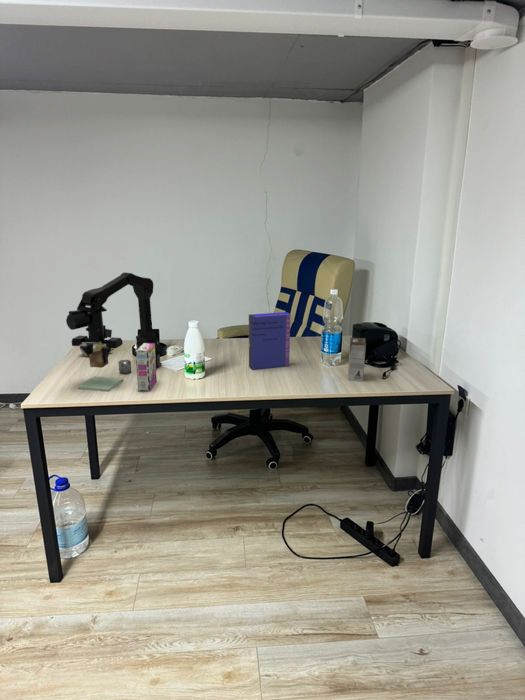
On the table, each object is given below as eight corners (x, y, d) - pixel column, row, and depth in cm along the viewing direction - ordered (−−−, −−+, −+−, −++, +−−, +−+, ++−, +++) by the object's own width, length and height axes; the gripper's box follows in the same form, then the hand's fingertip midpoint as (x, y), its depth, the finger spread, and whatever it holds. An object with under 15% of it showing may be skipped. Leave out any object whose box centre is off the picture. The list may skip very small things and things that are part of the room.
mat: (123, 380, 193) (123, 378, 192) (108, 391, 181) (108, 389, 181) (94, 378, 195) (94, 376, 195) (78, 388, 184) (77, 386, 183)
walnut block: (108, 363, 188) (107, 351, 186) (102, 367, 183) (100, 355, 182) (96, 362, 189) (95, 350, 187) (90, 366, 184) (88, 354, 182)
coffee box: (348, 372, 203) (350, 337, 198) (363, 373, 202) (365, 337, 197) (347, 380, 194) (350, 343, 189) (363, 381, 193) (366, 343, 188)
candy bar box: (150, 391, 181) (147, 351, 176) (137, 391, 181) (134, 350, 177) (157, 381, 192) (155, 342, 187) (145, 381, 192) (142, 342, 187)
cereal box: (285, 363, 215) (286, 311, 208) (289, 366, 211) (290, 313, 203) (248, 366, 210) (248, 314, 203) (251, 370, 205) (251, 316, 198)
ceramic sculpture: (74, 336, 223) (104, 333, 233) (75, 354, 225) (105, 350, 235) (83, 341, 216) (114, 337, 226) (84, 359, 218) (115, 355, 228)
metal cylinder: (133, 371, 204) (132, 360, 202) (128, 375, 199) (127, 363, 197) (122, 370, 204) (121, 359, 203) (117, 374, 200) (116, 363, 198)
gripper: (127, 320, 187) (130, 357, 191) (84, 318, 190) (88, 355, 195) (113, 327, 176) (117, 366, 181) (68, 325, 180) (73, 363, 184)
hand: (99, 362), depth 186 cm, fingers closed on walnut block, 5 cm apart
